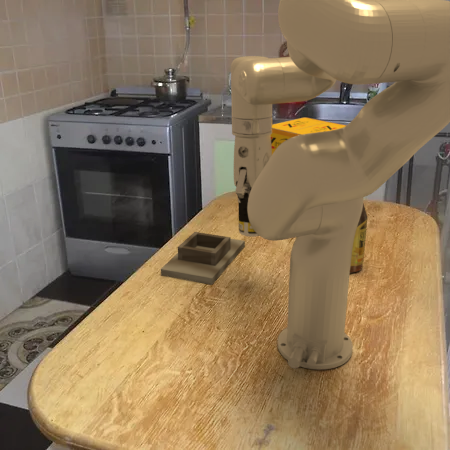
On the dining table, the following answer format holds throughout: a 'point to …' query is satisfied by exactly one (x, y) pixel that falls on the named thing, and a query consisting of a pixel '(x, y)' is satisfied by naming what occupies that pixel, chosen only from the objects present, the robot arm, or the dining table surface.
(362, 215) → the sauce bottle
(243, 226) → the supplement bottle
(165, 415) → the dining table surface
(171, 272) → the collar board
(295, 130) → the packaging box
